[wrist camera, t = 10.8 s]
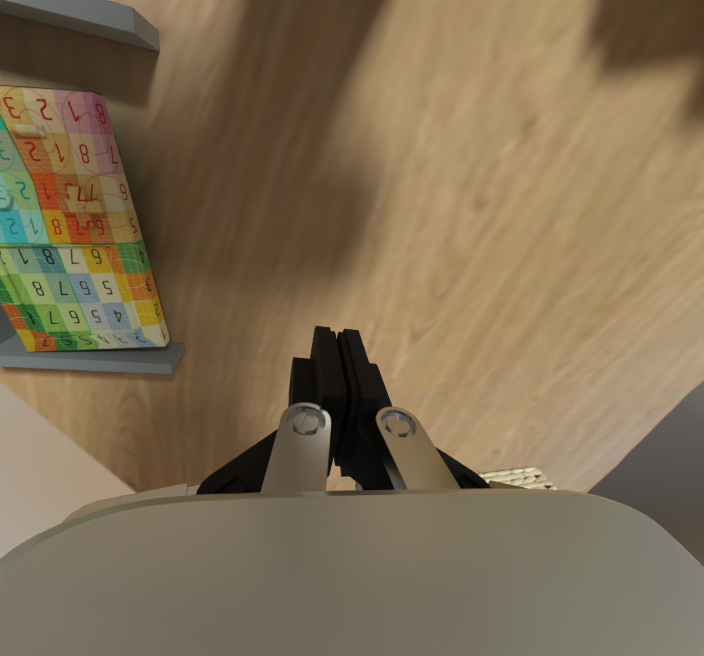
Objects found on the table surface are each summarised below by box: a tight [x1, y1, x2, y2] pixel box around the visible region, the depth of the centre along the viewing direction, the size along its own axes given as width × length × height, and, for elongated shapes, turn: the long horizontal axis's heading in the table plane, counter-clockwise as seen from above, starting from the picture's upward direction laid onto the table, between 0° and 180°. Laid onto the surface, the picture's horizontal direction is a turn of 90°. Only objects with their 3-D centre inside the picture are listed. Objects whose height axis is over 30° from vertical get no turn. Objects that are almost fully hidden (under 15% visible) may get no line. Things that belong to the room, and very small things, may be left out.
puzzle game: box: [0, 85, 170, 352], centre depth 26 cm, size 12×5×20 cm
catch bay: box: [0, 0, 185, 374], centre depth 25 cm, size 27×16×4 cm, turn 170°
